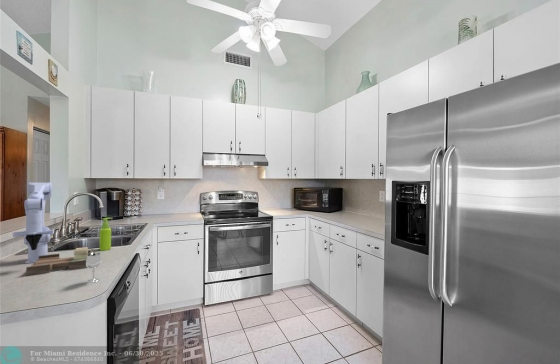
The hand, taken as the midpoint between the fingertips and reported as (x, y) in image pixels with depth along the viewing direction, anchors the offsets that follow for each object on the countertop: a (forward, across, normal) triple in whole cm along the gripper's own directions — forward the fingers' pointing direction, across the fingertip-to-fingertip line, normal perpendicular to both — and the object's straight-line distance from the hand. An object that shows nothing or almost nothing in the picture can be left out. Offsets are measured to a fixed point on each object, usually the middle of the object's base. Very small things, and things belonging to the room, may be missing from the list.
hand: (34, 249), depth 122 cm
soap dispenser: (+10, +28, +22) cm, 37 cm away
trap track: (+9, +11, -1) cm, 15 cm away
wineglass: (+10, +27, -31) cm, 42 cm away
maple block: (+7, +19, -1) cm, 20 cm away
